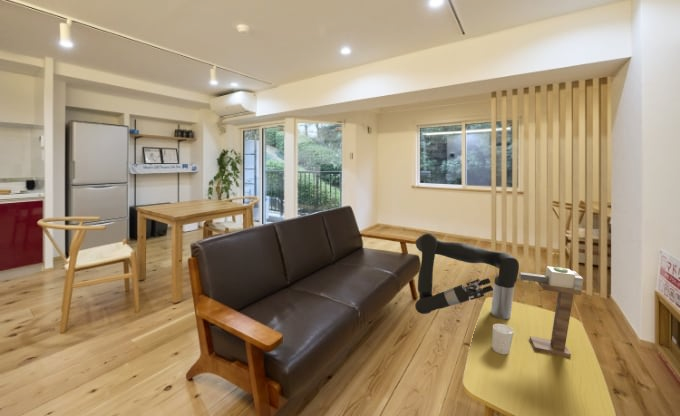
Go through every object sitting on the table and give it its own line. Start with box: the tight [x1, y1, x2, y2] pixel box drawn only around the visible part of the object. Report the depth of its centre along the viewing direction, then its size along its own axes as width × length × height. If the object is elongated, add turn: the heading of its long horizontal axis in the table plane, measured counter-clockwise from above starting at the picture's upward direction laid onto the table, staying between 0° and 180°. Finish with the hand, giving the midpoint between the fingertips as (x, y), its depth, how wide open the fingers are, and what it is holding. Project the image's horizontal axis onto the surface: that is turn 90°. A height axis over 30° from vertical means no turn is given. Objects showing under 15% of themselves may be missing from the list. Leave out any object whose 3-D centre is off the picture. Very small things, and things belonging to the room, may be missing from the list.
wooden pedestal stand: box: [529, 270, 584, 358], centre depth 129 cm, size 9×13×35 cm
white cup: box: [491, 323, 515, 355], centre depth 130 cm, size 8×8×10 cm
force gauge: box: [518, 265, 575, 288], centre depth 128 cm, size 7×18×6 cm, turn 71°
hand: (490, 283), depth 136 cm, fingers open, 8 cm apart
